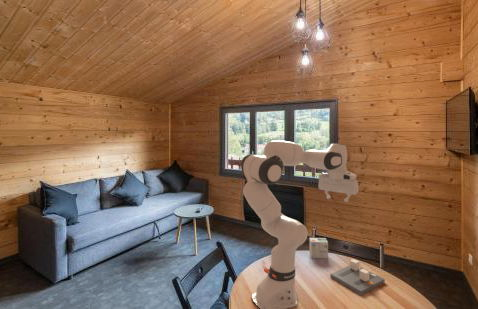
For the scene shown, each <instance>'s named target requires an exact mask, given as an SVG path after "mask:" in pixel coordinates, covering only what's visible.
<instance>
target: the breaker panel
mask: <svg viewBox="0 0 478 309" xmlns="http://www.w3.org/2000/svg"><path fill="white" fill-rule="evenodd" d="M361 269H365V268H363V267H361V266H359V270H357V271H355V270H353V269H351V268H350V265H348V266H346V267H343V268H340V269H338V270H336V271H334V272H331V273H330V275H329V276H330V278H331V279H333V280H334V281H336V282H338V283H339V284H341V285H343V286H345V287H346V288H348V289H350V290H351V291H353V292H355V293H356V294H358V295H359V296H362V295H364V294H366V293H368V292H369V291H372V290H373V289H376V288H377V287H379V286H381V285H382V283H383V284H385V283H384V282H386V280H385V278H384V277H382V276H380V275H378V274H375V273H373V272H372V271H369V270H368V269H365V270H367V271H369V280H368V281H367V282H365V281H363V280H361V279H359V273H360V270H361ZM380 284H381V285H380Z"/></svg>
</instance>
